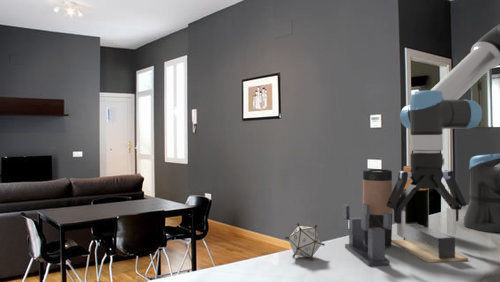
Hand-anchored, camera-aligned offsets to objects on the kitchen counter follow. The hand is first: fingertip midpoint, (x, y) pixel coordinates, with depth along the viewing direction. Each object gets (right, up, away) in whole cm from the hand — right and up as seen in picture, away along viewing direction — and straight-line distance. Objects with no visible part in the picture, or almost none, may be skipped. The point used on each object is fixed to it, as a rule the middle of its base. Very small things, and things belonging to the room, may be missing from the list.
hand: (426, 235), depth 103 cm
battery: (+6, -4, +22) cm, 23 cm away
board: (0, -4, 0) cm, 4 cm away
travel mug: (-10, -4, +6) cm, 13 cm away
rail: (0, -3, 0) cm, 3 cm away
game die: (-32, -5, -5) cm, 32 cm away
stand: (-17, -4, -4) cm, 18 cm away
